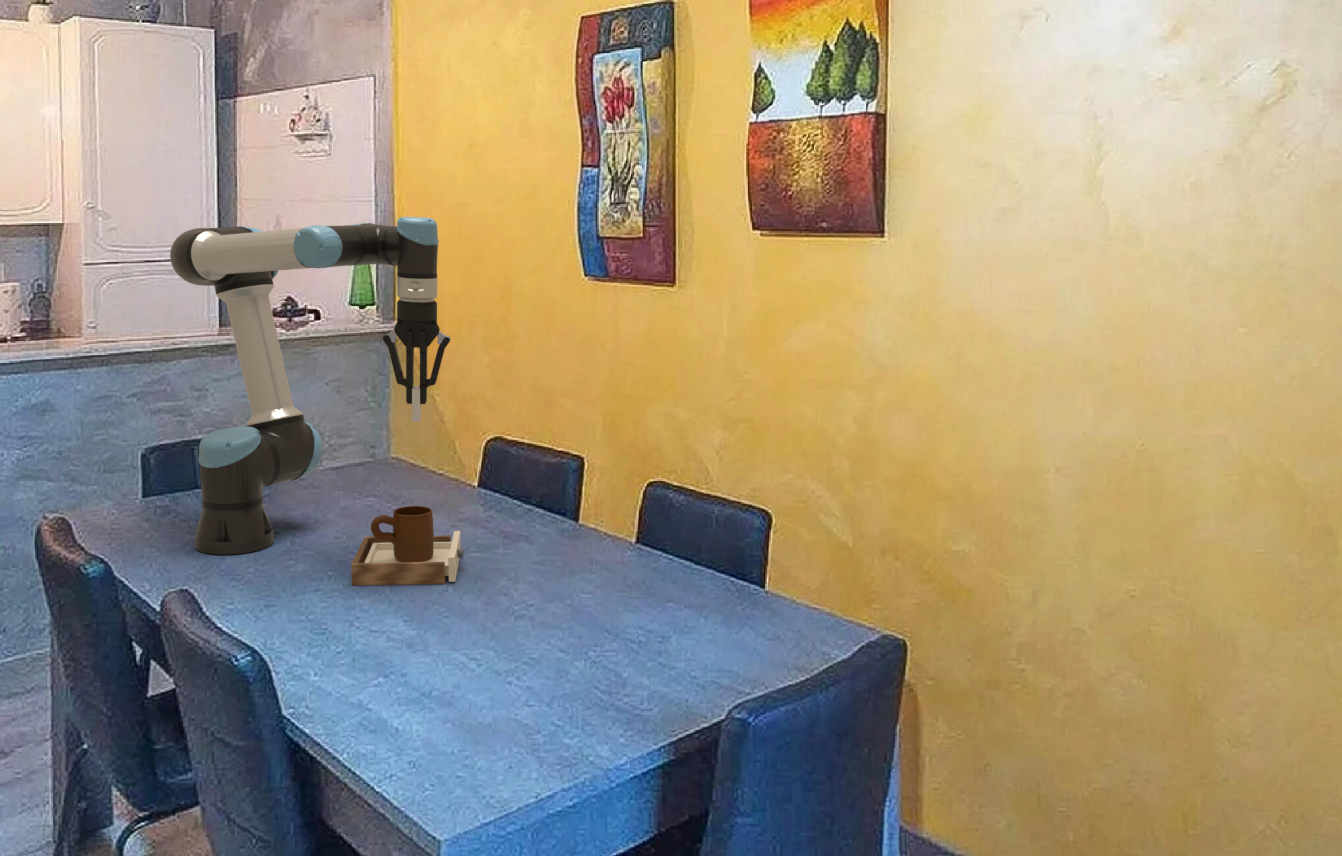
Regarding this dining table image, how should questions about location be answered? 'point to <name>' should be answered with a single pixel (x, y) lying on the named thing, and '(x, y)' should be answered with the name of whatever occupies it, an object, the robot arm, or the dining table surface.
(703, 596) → the dining table surface
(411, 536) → the mug
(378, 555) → the drawer
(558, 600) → the dining table surface
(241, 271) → the robot arm
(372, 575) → the frame
